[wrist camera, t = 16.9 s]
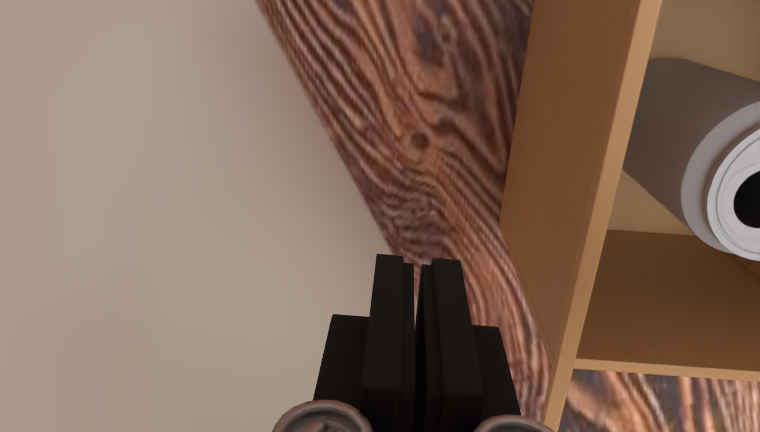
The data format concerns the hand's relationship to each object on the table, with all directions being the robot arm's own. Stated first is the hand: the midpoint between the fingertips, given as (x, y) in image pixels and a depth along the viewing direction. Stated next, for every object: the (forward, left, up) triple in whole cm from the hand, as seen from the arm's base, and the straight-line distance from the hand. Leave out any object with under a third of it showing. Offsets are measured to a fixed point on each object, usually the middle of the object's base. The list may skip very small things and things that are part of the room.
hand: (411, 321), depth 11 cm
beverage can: (+14, 0, -22) cm, 26 cm away
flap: (+5, 0, -5) cm, 7 cm away
